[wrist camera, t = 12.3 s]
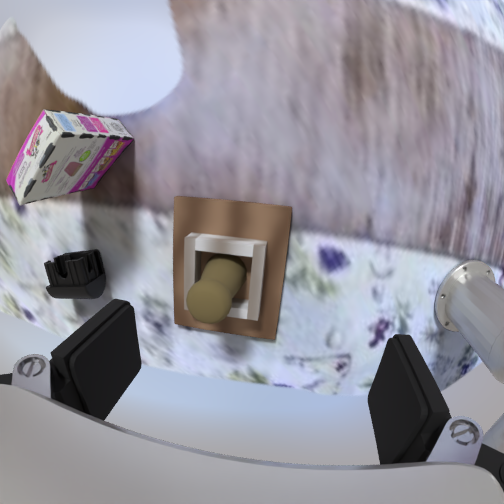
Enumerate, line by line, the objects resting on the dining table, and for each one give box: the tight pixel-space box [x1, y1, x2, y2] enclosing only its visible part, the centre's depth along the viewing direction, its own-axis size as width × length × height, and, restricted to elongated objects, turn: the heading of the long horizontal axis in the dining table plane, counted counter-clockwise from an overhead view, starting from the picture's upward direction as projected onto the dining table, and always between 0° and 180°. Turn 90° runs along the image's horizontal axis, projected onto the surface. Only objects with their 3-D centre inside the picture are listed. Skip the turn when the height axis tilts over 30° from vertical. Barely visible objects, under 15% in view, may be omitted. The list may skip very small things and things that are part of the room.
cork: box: [186, 253, 247, 324], centre depth 37 cm, size 6×6×11 cm
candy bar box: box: [6, 109, 134, 205], centre depth 33 cm, size 11×5×16 cm, turn 131°
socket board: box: [173, 196, 292, 340], centre depth 41 cm, size 16×20×4 cm
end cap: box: [44, 249, 105, 299], centre depth 44 cm, size 10×7×7 cm
